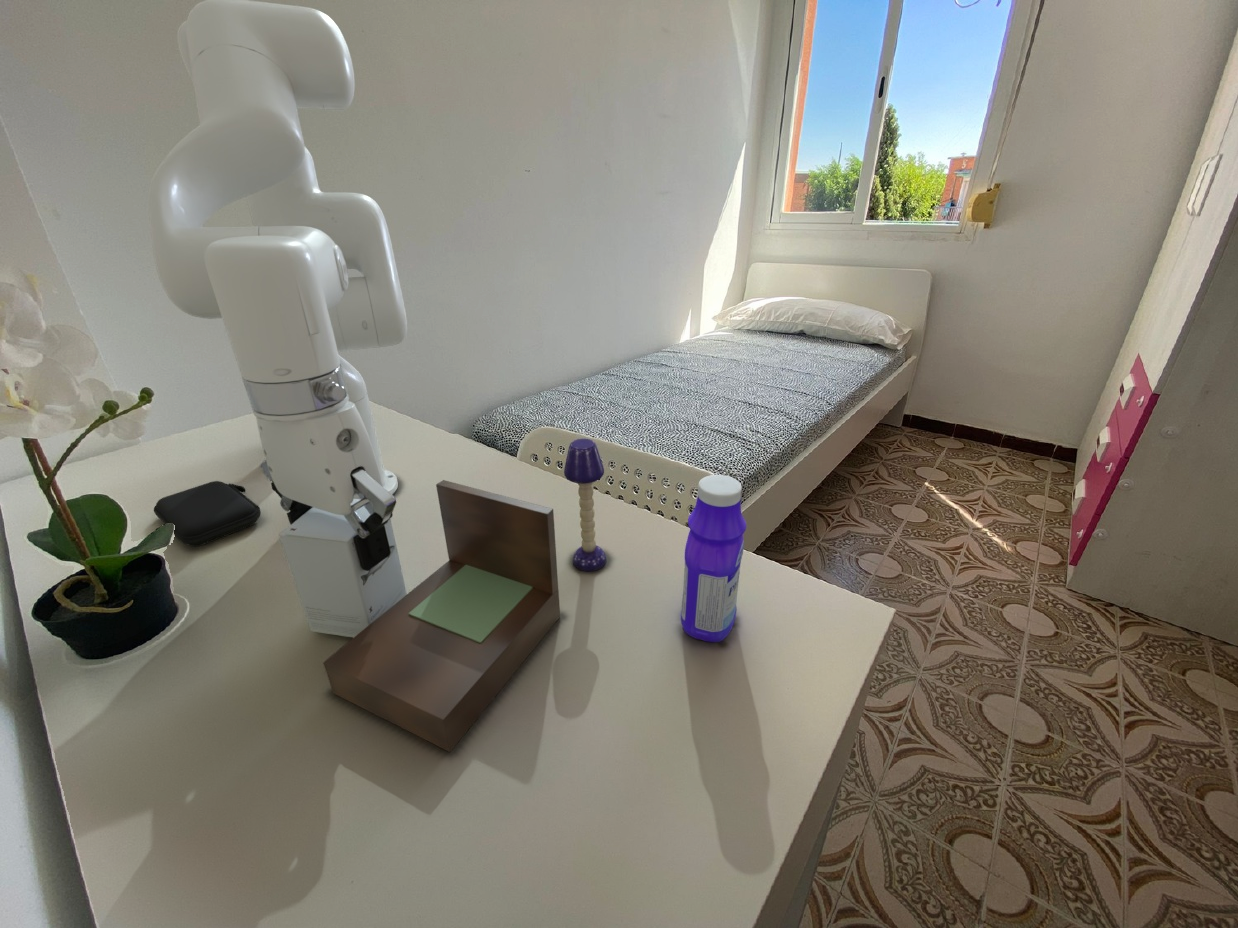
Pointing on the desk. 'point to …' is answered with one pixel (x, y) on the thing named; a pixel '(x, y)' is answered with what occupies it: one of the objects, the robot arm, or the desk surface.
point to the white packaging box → (339, 573)
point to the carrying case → (207, 512)
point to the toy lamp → (585, 499)
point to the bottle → (713, 559)
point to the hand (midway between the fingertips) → (343, 549)
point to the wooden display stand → (458, 620)
